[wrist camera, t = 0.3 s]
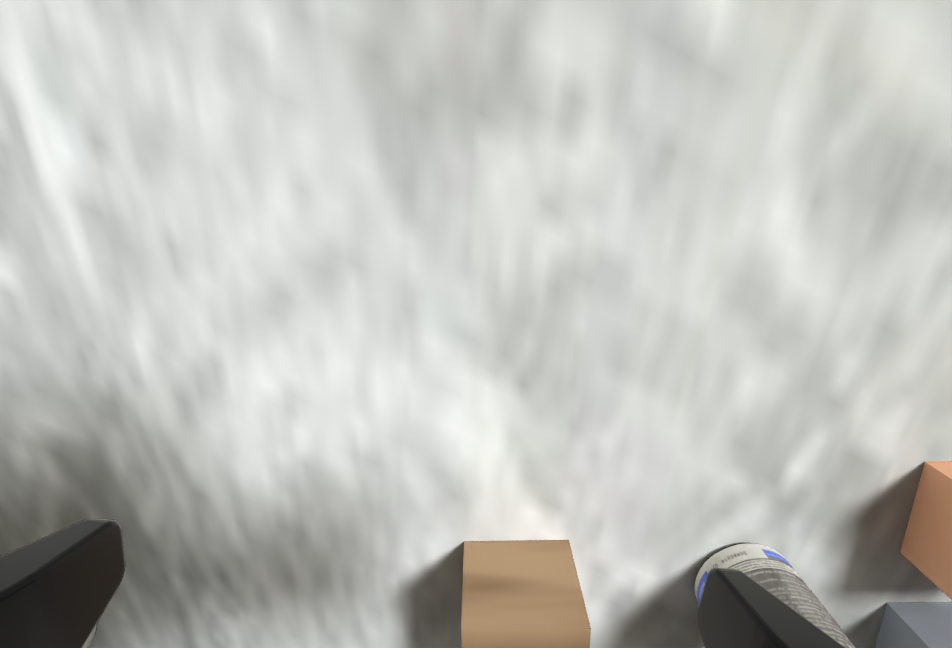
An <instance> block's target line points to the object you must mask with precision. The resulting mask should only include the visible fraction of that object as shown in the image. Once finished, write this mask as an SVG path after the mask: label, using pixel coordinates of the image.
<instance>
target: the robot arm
mask: <svg viewBox="0 0 952 648" xmlns="http://www.w3.org/2000/svg"><path fill="white" fill-rule="evenodd" d="M124 572H125V556H124V548H123V539H122V530H121V526H120V524H119V523H118V522H117V521H115V520H108V519H95V518H90V519H85V520H83V521H80V522H78V523H76V524H73V525H71V526H69V527H67V528H64V529H62V530H60V531H57V532H55V533H53V534H51V535H48V536H46V537H44V538H42V539H39V540H37V541H35V542H32V543H30V544H28V545H26V546H23V547H21V548H19V549H16V550H14V551H12V552H10V553H7V554H5V555H3V556H0V648H82V647H83V646H84V644H85V642H86V641H87V639H88V637H89V636H90V634H91V632H92V630H93V629H94V627H95V625H96V624H97V622H98V620H99V619H100V617H101V615H102V614H103V612H104V610H105V609H106V607H107V605H108V603H109V602H110V600H111V598H112V597H113V595H114V593H115V592H116V590H117V588H118V587H119V585H120V583H121V581H122V578H123V576H124ZM698 623H699V628H700V631H701V635H702V638H703V641H704V645H705V648H845V647H844V646H842V645H841V644H840V643H838V642H837V641H836V640H834V639H833V638H832V637H830V636H829V635H827V634H826V633H825V632H823V631H822V630H821V629H819V628H818V627H817V626H815V625H814V624H812V623H811V622H810V621H808V620H807V619H806V618H804V617H803V616H802V615H800V614H799V613H798V612H796V611H795V610H793V609H792V608H791V607H789V606H788V605H787V604H785V603H784V602H783V601H781V600H780V599H778V598H777V597H776V596H774V595H773V594H772V593H770V592H769V591H768V590H766V589H765V588H763V587H762V586H761V585H759V584H758V583H757V582H755V581H754V580H753V579H751V578H750V577H748V576H747V575H746V574H744V573H743V572H741V571H740V570H737V569H729V568H712V569H711V570H710V571H709V572H708V575H707V578H706V581H705V585H704V589H703V593H702V596H701V600H700V604H699V608H698Z"/></svg>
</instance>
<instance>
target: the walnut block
mask: <svg viewBox="0 0 952 648" xmlns="http://www.w3.org/2000/svg"><path fill="white" fill-rule="evenodd" d="M590 631H591V628H590V624H589V620H588V616H587V612H586V608H585V604H584V600H583V596H582V591H581V587H580V583H579V579H578V575H577V571H576V567H575V563H574V559H573V555H572V551H571V547H570V543H569V540H528V541H464V558H463V588H462V617H461V644H462V648H589V647H590Z"/></svg>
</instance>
